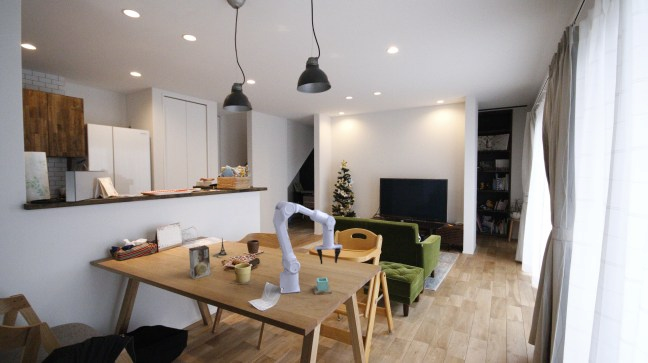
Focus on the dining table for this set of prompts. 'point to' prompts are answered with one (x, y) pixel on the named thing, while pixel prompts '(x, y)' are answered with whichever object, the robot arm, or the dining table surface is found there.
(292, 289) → the robot arm
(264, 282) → the dining table surface
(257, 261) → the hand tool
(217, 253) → the eiffel tower figurine
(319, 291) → the pin plate
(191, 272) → the coffee box
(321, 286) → the teal hollow block
